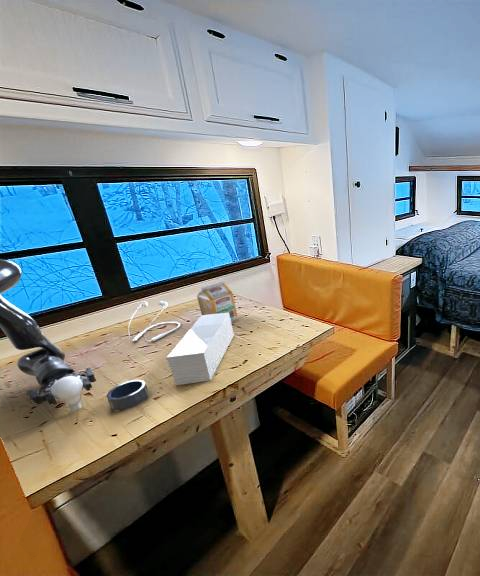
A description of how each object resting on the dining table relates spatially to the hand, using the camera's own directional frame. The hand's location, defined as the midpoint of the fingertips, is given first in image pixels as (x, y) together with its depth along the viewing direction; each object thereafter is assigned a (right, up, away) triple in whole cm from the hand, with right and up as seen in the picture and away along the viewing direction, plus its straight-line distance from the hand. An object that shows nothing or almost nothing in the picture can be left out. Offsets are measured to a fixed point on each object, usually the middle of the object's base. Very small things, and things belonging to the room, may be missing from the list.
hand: (71, 394), depth 86 cm
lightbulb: (-2, -6, +4) cm, 7 cm away
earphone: (-12, +10, +49) cm, 51 cm away
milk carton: (+11, +14, +58) cm, 60 cm away
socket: (+10, -4, +8) cm, 13 cm away
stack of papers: (+22, +4, +30) cm, 37 cm away
